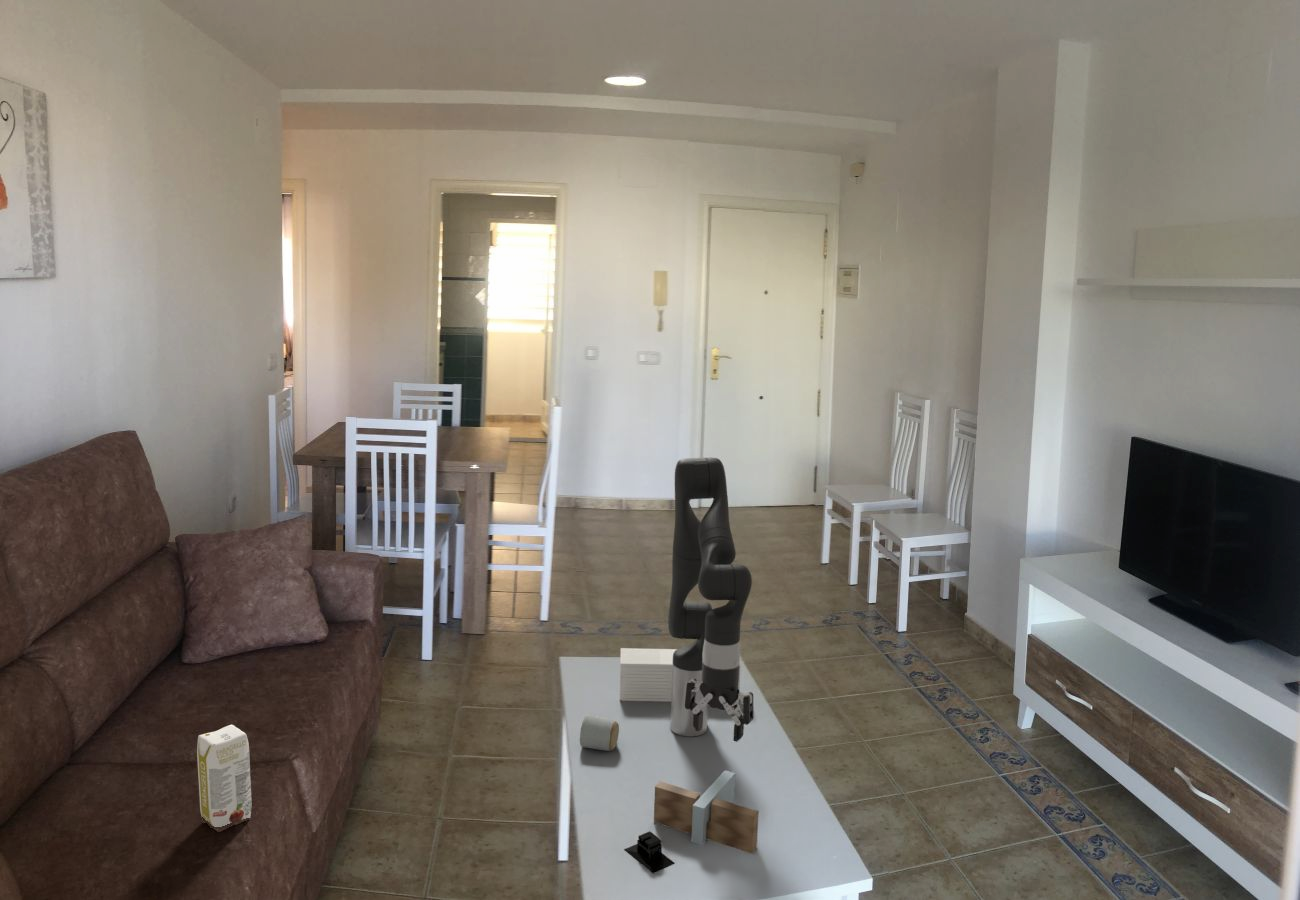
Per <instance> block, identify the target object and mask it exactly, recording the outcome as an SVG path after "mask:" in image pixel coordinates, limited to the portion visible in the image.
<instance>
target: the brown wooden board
mask: <svg viewBox="0 0 1300 900" xmlns="http://www.w3.org/2000/svg"><path fill="white" fill-rule="evenodd" d="M700 797H701V793H700V792H697V791H694V790H691V789H687V788H683V787H679V786H677V785H674V784H670V783H667V782H664V781H659V782H658V783H657V784H656V785H655V786H654V800H653V801H654V805H653V806H654V807H653V808H654V809H653V810H654V811H653V823H656V824H659V825H662V826H665V827H668V828H671V829H674V830H677V831H681V832H684V833H688V834H689V835H692V816H693V805H694V804H695V802H696V801H697V800H698V799H699V798H700ZM759 814H760V813H759V810H757V809H753V808H751V807H747V806H744V805H740V804H737V803H735V802H734V803H730V802H727V801H724V800H720V799H717V798H716V799H715V800H714V801H713V803H712V804H711V818H710V819H709V821H708V822H707V825H706V840H707V841H712V842H714V843H718V844H721V845H723V846H724V845H725V846H727V847H730V848H733V849H736V850H739V851H742V852H745V853H748V854H752V855H753V853H754V852H755V851H756V850H757V848H758V833H759V832H758V830H759Z"/></svg>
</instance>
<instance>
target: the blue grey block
mask: <svg viewBox="0 0 1300 900" xmlns="http://www.w3.org/2000/svg"><path fill="white" fill-rule="evenodd" d="M735 782H736V773H735V772H732V771H728V770H723V772H722V773H720V775H719V776H718V777H717V778H716V779H715V780H714V781H713V783H711V785H710V786H709V787H708V788H707V789H706V790H705V792H703V793H702V794H701V795H700V798H699V799H698V800H697V801H696V802H695V804H694V805H693V816H692V834H691V839H690V840H691V841H690V842H691V843H695V844H697V845H700V846H703V845H704V844H705V842H706V841H707V839H706V825H707V822H708V821H709V819H710V818H711V804H712V803H713V801H714V800H715V799H716V798H717V799H720V800H724V801H727V802H730V803H734V804H735V802H734V801H735V784H736V783H735Z"/></svg>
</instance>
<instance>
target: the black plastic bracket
mask: <svg viewBox="0 0 1300 900" xmlns="http://www.w3.org/2000/svg"><path fill="white" fill-rule="evenodd" d="M637 837H638V839H637V843H635V844H634V845H631V846H629V847H626V848H624V849H623V851H624V852H626V853H627V854H628V855H629V856H631V857H632V858H633V859H634V860H635V861H637V862H638V863H639V864H641V866H643V867H644V868H645V869H646V870H648V872H650V873H651V874H652V875H653V874H656V873H658V872H660V871H662V870H664V869H666V868H668V867H671V866H673V865H675V864H676V862H674V861H673V860H671V858H670V857H668V856H667V855H665V854H664V853H663V852H662V851H663V844H662V839H661V838H660V837H658V836H657V835H656V834H654V833H653V832H652V831H647V832H644V833H641V834H640V835H638V836H637Z"/></svg>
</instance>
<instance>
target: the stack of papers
mask: <svg viewBox="0 0 1300 900" xmlns="http://www.w3.org/2000/svg"><path fill="white" fill-rule="evenodd" d="M677 649H678V648H636V647H635V648H631V647H629V648H628V647H627V648H626V647H620V660H619V661H620V664H619V665H620V666H619V671H620V672H619V701H620V700H622V701H623V702H630V701H631V702H671V695H672V666H673V654H674V652H675V651H676V650H677ZM741 668H742V667H741V665H740V668H739V684H738V689H739V690H740V686H741V683H740V682H741ZM739 700H740V699H739V698H738V699H737V700H736V701H737V702H738V704H739V703H740V701H739Z"/></svg>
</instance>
